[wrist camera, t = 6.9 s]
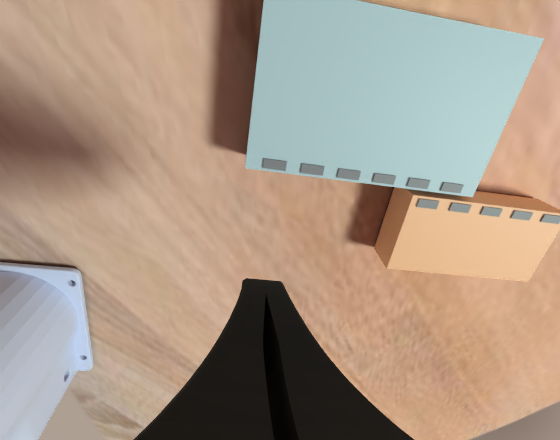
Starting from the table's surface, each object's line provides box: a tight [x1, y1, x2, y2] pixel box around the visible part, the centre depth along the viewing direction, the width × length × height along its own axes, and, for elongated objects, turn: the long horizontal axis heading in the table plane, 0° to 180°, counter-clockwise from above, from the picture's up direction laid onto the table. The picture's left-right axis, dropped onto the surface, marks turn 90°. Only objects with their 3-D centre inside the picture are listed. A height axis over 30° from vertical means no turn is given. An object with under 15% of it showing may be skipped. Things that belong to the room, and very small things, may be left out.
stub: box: [374, 187, 560, 282], centre depth 21 cm, size 5×10×2 cm, turn 81°
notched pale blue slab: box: [245, 0, 544, 197], centre depth 17 cm, size 8×13×3 cm, turn 81°
